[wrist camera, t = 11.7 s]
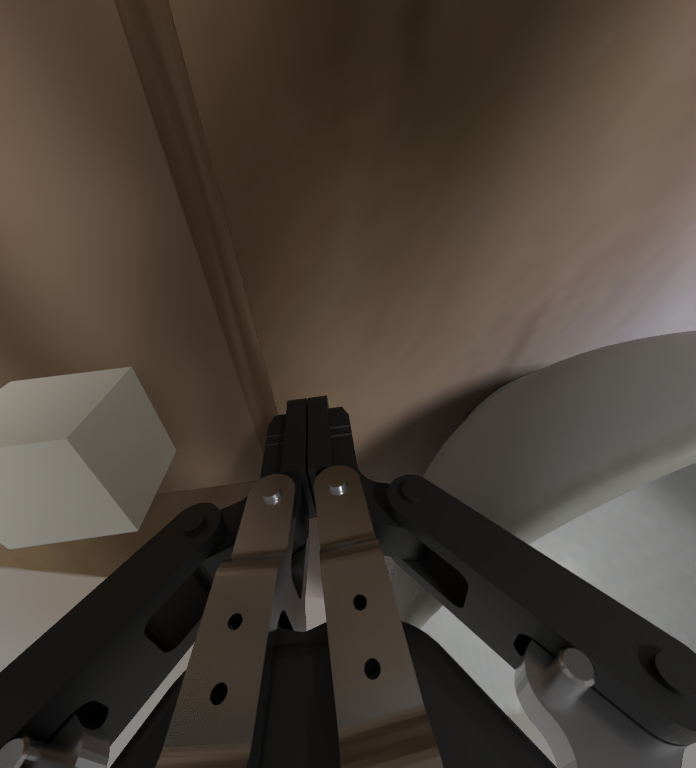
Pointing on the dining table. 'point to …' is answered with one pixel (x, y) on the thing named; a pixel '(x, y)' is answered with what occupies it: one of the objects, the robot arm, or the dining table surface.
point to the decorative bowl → (581, 488)
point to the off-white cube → (78, 457)
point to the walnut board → (123, 230)
